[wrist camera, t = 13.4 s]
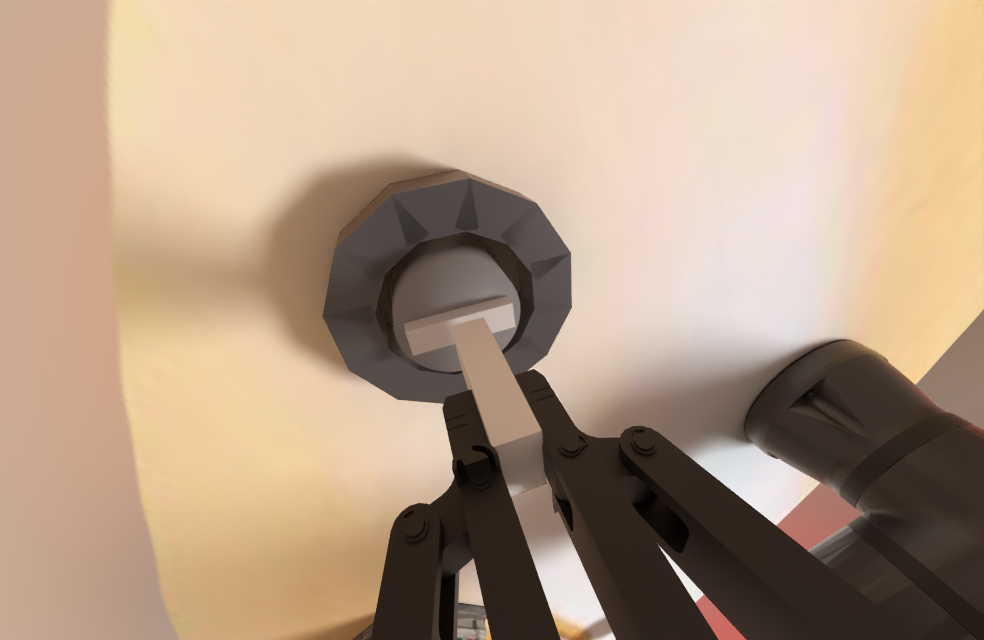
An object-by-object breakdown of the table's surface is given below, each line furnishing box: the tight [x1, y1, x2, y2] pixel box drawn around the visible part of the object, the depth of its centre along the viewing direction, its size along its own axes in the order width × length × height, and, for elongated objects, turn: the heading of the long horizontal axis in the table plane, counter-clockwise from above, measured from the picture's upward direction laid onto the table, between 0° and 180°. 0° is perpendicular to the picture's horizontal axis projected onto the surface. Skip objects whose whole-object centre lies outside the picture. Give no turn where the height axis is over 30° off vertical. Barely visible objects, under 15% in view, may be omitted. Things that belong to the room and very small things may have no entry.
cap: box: [391, 234, 520, 372], centre depth 19 cm, size 6×6×5 cm
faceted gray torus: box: [323, 170, 572, 404], centre depth 20 cm, size 13×13×2 cm
